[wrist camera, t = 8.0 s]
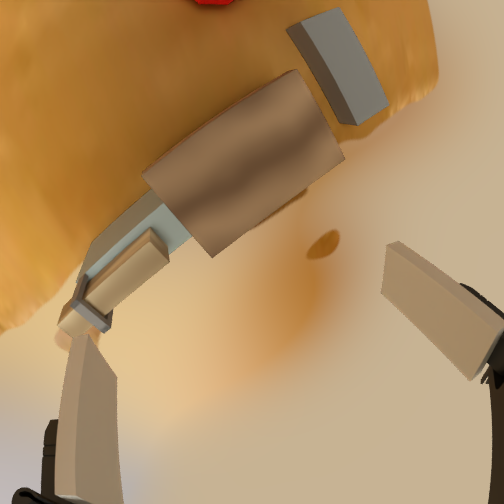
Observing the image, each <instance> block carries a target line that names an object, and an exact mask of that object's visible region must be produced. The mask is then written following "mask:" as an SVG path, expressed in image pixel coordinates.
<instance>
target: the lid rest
mask: <svg viewBox="0 0 504 504" xmlns="http://www.w3.org/2000/svg"><path fill="white" fill-rule="evenodd" d="M286 31H287V33H288V34H289V36H290V37H291V39H292V40H293V42H294V43H295V45H296V47H297V48H298V50H299V51H300V53H301V55H302V56H303V58H304V59H305V61H306V63H307V64H308V66H309V68H310V69H311V71H312V73H313V75H314V76H315V78H316V80H317V82H318V83H319V85H320V87H321V89H322V90H323V92H324V94H325V96H326V98H327V100H328V102H329V103H330V105H331V107H332V109H333V111H334V113H335V115H336V117H337V119H338V121H339V123H343V124H350V125H356V126H358V125H360V124H361V123H363V122H364V121H366V120H367V119H369V118H370V117H372V116H373V115H375V114H376V113H378V112H379V111H381V110H382V109H384V108H386V107H387V106H389V103H388V100H387V98H386V96H385V93H384V91H383V89H382V87H381V84H380V82H379V80H378V78H377V76H376V73H375V71H374V69H373V67H372V65H371V63H370V61H369V59H368V57H367V55H366V53H365V51H364V49H363V47H362V46H361V44H360V42H359V40H358V38H357V36H356V35H355V33H354V31H353V29H352V28H351V26H350V24H349V22H348V21H347V19H346V17H345V16H344V14H343V12H342V11H341V9H340V8H339V7H337V8H335V9H332V10H329V11H326V12H324V13H321V14H319V15H316V16H313V17H311V18H308V19H306V20H304V21H301V22H299V23H297V24H295V25H293V26H291V27H290V28H288V29H286Z"/></svg>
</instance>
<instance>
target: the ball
mask: <svg viewBox="0 0 504 504" xmlns="http://www.w3.org/2000/svg"><path fill="white" fill-rule="evenodd" d="M195 1H196V2H198V3H199V4H223V5H228V4H229V3H230V2H232V1H233V0H195Z"/></svg>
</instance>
